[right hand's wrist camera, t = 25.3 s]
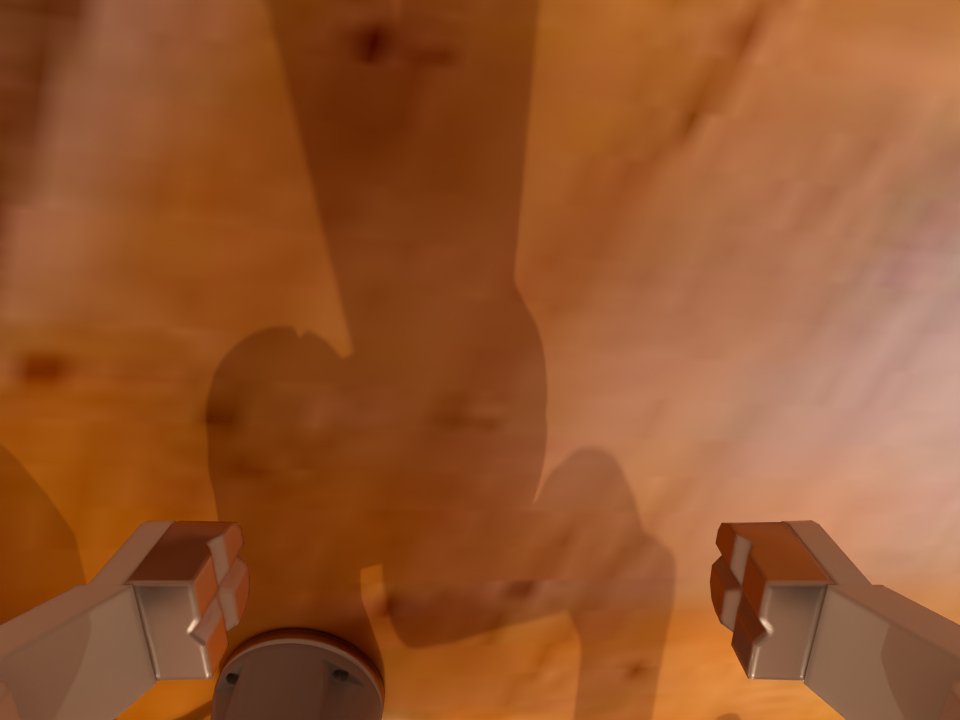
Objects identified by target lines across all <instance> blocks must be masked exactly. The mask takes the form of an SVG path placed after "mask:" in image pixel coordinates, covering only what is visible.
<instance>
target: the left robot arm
mask: <svg viewBox="0 0 960 720" xmlns="http://www.w3.org/2000/svg"><path fill="white" fill-rule="evenodd" d="M384 700H385V693H384V686H383V682H382V679H381V677H380V675H379V673H378V671H377V669H376V668H375V666H374V665H373V664H372V662H371V661H370V660H369V659H368V658H367V657H366V656H365V655H364V654H363V653H362V652H361V651H359V650H358V649H357V648H355V647H354V646H352V645H351V644H349V643H347V642H345V641H343V640H341V639H339V638H337V637H334V636H332V635H329V634H325V633H322V632H317V631H312V630H304V629H285V630H277V631H272V632H268V633H264V634H261V635H258V636H256V637H254V638H252V639H250V640H248V641H246V642H245V643H243V644H242V645H241V646H239V647H238V648H237V649H236V650H235V651H234V652H233V653H232V654H231V655H230V657H229V658H228V660H227V661H226V663H225V665H224V667H223V669H222V671H221V674H220V676H219V678H218V680H217V683H216V685H215V690H214V695H213V701H212V711H211V720H381V719H382V713H383V707H384Z"/></svg>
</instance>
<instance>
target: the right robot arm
mask: <svg viewBox="0 0 960 720" xmlns="http://www.w3.org/2000/svg"><path fill="white" fill-rule="evenodd" d="M243 545H244V539H243V534H242V529H241V526H240V525H239V524H237V523H236V522H207V521H178V522H177V521H148V522H145V523H142V524H141V525H140V526H139V527H138V528H137V529H136V530H135V532H134V533H133V534H132V535H131V536H130V537H129V538H128V540H127V541H126V542H125V543H124V544H123V545H122V547H121V548H120V549H119V550H118V551H117V552H116V553H115V555H114V556H113V557H112V558H111V559H110V560H109V561H108V563H107V564H106V565H105V566H104V567H103V568H102V569H101V571H100V572H99V573H98V574H97V575H96V576H95V577H94V579H93V580H92V581H91V582H90V583H89V584H88V585H77V586H75V587H73V588H71V589H69V590H67V591H66V592H64V593H62V594H60V595H58V596H56V597H54V598H52V599H50V600H48V601H46V602H44V603H42V604H40V605H38V606H36V607H34V608H32V609H31V610H29V611H27V612H25V613H23V614H21V615H19V616H17V617H15V618H13V619H11V620H9V621H7V622H5V623H3V624H1V625H0V720H114V719H115V718H116V717H118V716H119V715H120V714H121V713H122V712H123V711H125V710H126V709H127V708H128V707H129V706H130V705H132V704H133V703H134V702H135V701H136V700H138V699H139V698H140V697H141V696H142V695H143V694H145V693H146V692H147V691H148V690H149V689H150V688H152V687H153V686H154V685H155V684H156V680H187V679H212V677H213V675H214V673H215V671H216V669H217V667H218V665H219V663H220V661H221V659H222V657H223V655H224V653H225V651H226V649H227V647H228V645H229V643H228V638H227V632H228V631H229V630H230V629H232V628H233V627H235V626H236V625H237V624H239V623H240V620H241V618H242V616H243V614H244V612H245V610H246V605H247V601H248V596H249V592H250V575H249V569H248V565H247V564H246V563H245V562H244V561H243V560H242V559H241V558H240V557H239V556H238V554H239V552H240V550H241V548H242V547H243ZM716 545H717V547H718V548H719V550H720V552H721V554H722V556H721V557H720V558H719V559H718V560H717V561H716V562H715V563H714V564H713V565H712V569H711V577H710V588H711V599H712V602H713V606H714V609H715V612H716V614H717V616H718V618H719V620H720V623H721V624H723V625H724V626H725V627H727V628H728V629H730V630H731V631H732V632H733V638H732V643H731V645H732V647H733V649H734V651H735V653H736V655H737V657H738V659H739V661H740V663H741V665H742V667H743V669H744V671H745V673H746V675H747V677H748V679H772V680H804V684H805V685H806V686H808V687H809V688H810V689H811V690H812V691H813V692H815V693H816V694H817V695H818V696H819V697H820V698H822V699H823V700H824V701H825V702H826V703H827V704H829V705H830V706H831V707H832V708H833V709H834V710H836V711H837V712H838V713H839V714H840V715H841V716H843V717H844V718H845V719H846V720H960V625H958V624H956V623H955V622H953V621H951V620H949V619H947V618H945V617H943V616H941V615H939V614H937V613H935V612H933V611H931V610H929V609H927V608H925V607H924V606H922V605H920V604H918V603H916V602H914V601H912V600H910V599H908V598H906V597H904V596H902V595H900V594H898V593H896V592H894V591H893V590H891V589H889V588H887V587H885V586H883V585H872V584H871V583H870V582H869V581H868V580H867V579H866V577H865V576H864V575H863V574H862V573H861V572H860V571H859V569H858V568H857V567H856V566H855V565H854V564H853V563H852V561H851V560H850V559H849V558H848V557H847V556H846V555H845V553H844V552H843V551H842V550H841V549H840V548H839V547H838V545H837V544H836V543H835V542H834V541H833V540H832V539H831V537H830V536H829V535H828V534H827V533H826V532H825V531H824V529H823V528H822V527H821V526H820V525H819V524H818V523H816V522H814V521H812V520H808V521H781V522H748V523H721V525H720V527H719V529H718V532H717V538H716Z"/></svg>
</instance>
